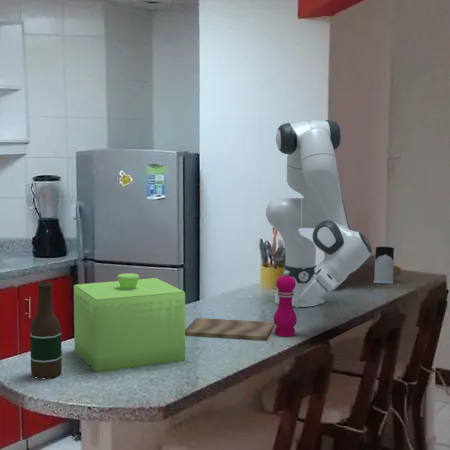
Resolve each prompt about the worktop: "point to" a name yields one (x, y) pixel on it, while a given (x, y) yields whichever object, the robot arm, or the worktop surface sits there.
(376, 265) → the glass holder
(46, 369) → the beer bottle
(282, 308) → the pepper mill
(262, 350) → the worktop surface
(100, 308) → the canister
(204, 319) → the walnut board
